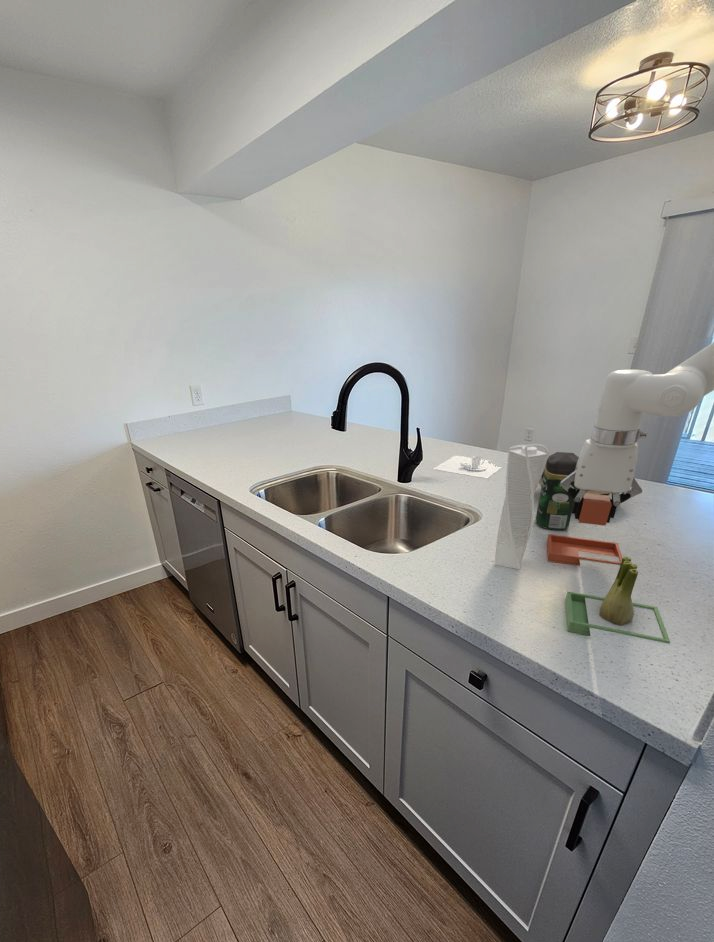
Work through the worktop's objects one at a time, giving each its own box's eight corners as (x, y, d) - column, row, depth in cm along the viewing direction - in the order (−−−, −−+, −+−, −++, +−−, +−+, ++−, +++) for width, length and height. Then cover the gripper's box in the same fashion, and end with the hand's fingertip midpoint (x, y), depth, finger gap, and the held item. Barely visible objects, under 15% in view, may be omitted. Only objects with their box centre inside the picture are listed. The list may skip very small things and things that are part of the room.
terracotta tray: (615, 550, 101) (617, 542, 100) (621, 572, 92) (624, 564, 91) (546, 541, 106) (548, 533, 105) (547, 561, 98) (549, 553, 97)
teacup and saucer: (457, 469, 158) (459, 458, 156) (466, 463, 163) (467, 452, 161) (481, 473, 153) (483, 461, 151) (490, 467, 158) (491, 456, 156)
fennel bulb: (603, 608, 81) (620, 552, 76) (634, 619, 78) (655, 561, 72) (592, 622, 78) (610, 564, 72) (624, 634, 74) (645, 575, 69)
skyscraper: (524, 574, 94) (550, 446, 81) (488, 566, 97) (507, 443, 85) (528, 557, 100) (552, 436, 87) (493, 551, 103) (512, 434, 91)
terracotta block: (602, 516, 96) (609, 495, 94) (605, 525, 92) (611, 504, 90) (577, 513, 98) (582, 493, 96) (578, 522, 94) (584, 501, 92)
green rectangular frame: (653, 616, 79) (657, 606, 78) (666, 651, 71) (670, 641, 70) (565, 600, 85) (567, 591, 84) (567, 631, 77) (570, 621, 76)
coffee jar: (534, 514, 120) (547, 448, 112) (566, 518, 117) (582, 450, 109) (534, 529, 112) (549, 459, 104) (569, 533, 109) (587, 461, 101)
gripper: (661, 434, 86) (634, 517, 95) (564, 429, 93) (547, 507, 102) (670, 443, 80) (641, 531, 89) (566, 438, 87) (547, 520, 96)
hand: (591, 517), depth 95 cm, fingers closed on terracotta block, 5 cm apart
